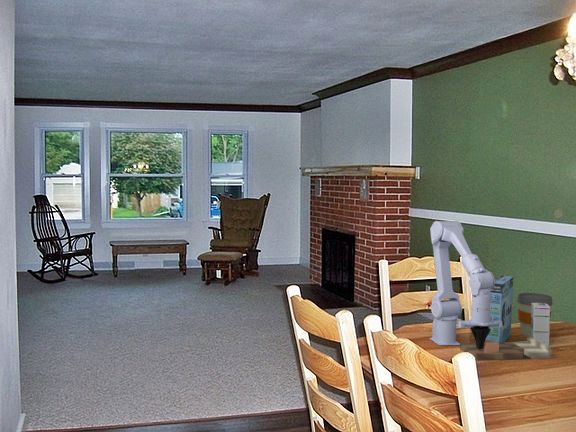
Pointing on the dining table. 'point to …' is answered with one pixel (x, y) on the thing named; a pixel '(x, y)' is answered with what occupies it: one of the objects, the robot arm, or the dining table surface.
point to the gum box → (501, 308)
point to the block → (490, 346)
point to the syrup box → (540, 322)
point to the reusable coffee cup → (529, 309)
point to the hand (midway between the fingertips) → (479, 348)
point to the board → (511, 350)
